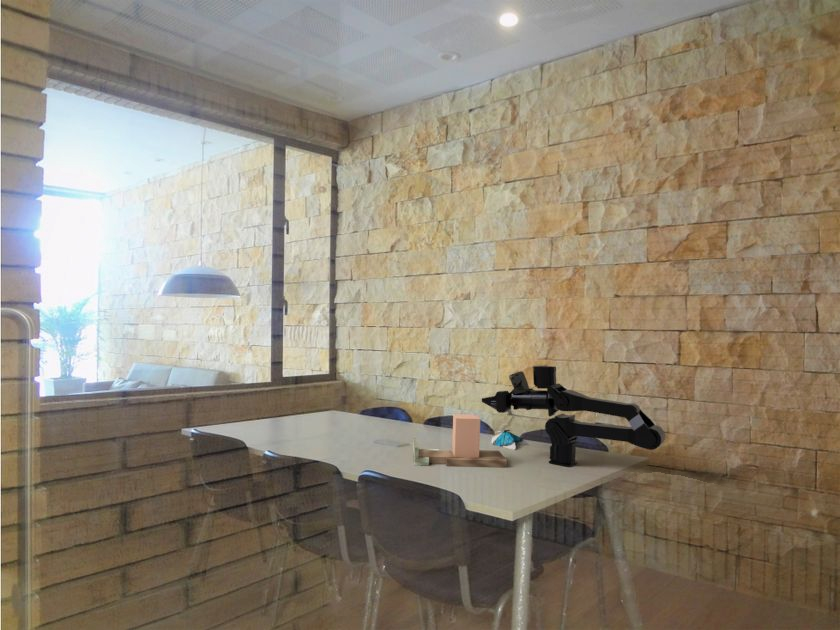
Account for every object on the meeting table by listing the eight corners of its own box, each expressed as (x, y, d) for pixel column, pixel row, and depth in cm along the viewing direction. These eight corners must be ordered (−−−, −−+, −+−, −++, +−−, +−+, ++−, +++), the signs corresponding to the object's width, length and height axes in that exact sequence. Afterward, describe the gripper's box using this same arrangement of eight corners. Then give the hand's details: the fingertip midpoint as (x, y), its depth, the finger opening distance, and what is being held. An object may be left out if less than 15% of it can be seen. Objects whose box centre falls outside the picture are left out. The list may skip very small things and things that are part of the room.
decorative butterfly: (500, 429, 200) (525, 426, 194) (503, 448, 198) (529, 445, 193) (485, 433, 192) (511, 430, 186) (488, 453, 191) (515, 450, 185)
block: (475, 451, 172) (476, 414, 172) (479, 457, 165) (480, 419, 165) (452, 451, 171) (453, 414, 171) (454, 456, 164) (455, 418, 164)
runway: (498, 456, 175) (499, 440, 175) (506, 467, 163) (507, 449, 163) (412, 454, 173) (413, 438, 173) (414, 465, 161) (415, 447, 161)
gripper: (544, 371, 183) (499, 371, 191) (521, 375, 167) (473, 375, 176) (546, 406, 182) (501, 405, 191) (523, 413, 167) (475, 411, 175)
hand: (488, 398), depth 183 cm, fingers open, 9 cm apart
